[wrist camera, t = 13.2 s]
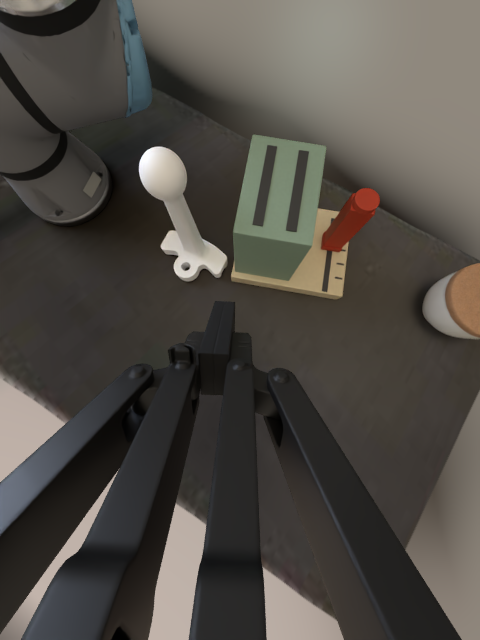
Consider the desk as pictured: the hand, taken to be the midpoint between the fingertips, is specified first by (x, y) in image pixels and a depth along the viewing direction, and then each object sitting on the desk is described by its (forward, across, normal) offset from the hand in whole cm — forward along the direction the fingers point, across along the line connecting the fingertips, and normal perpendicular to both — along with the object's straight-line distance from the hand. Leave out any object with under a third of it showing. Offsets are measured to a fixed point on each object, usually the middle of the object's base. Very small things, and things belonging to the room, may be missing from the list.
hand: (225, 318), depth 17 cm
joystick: (+24, -8, -2) cm, 25 cm away
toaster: (+26, +9, +1) cm, 28 cm away
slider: (+24, +16, +2) cm, 29 cm away
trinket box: (+20, +35, -8) cm, 41 cm away
